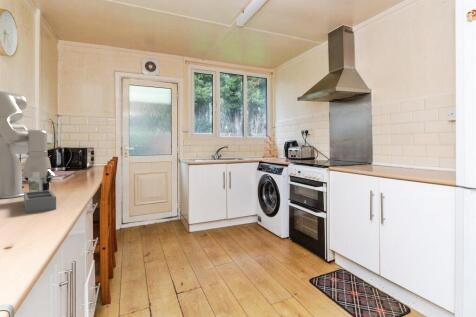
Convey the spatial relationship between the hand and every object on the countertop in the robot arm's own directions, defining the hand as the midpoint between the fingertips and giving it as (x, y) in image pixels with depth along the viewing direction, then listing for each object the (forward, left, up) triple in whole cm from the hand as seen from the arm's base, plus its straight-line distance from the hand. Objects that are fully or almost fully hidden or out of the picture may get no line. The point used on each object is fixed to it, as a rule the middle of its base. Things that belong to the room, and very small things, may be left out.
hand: (39, 190), depth 126 cm
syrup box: (0, 0, -5) cm, 5 cm away
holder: (+11, -15, -5) cm, 19 cm away
